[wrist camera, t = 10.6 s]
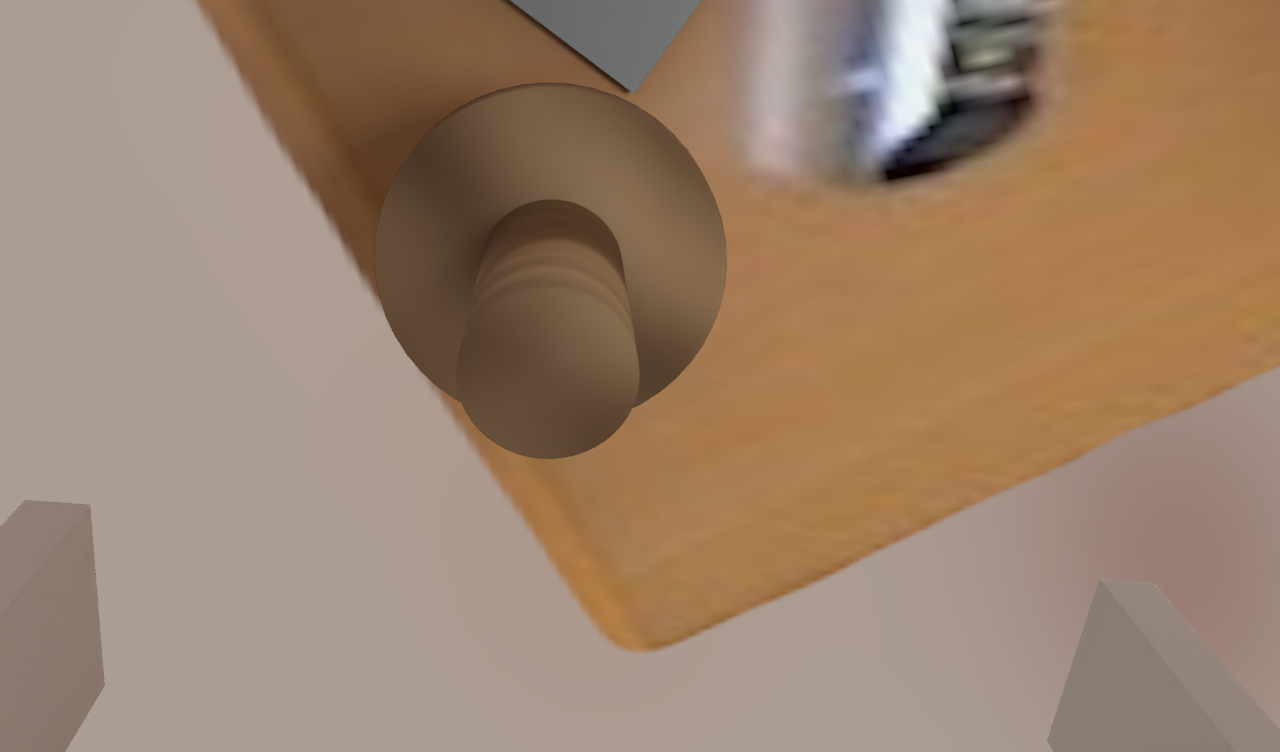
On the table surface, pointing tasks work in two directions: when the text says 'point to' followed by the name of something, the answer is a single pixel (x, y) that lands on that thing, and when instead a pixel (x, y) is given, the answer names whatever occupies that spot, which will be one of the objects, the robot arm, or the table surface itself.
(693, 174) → the lid
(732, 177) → the table surface
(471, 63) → the table surface
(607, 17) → the mat
